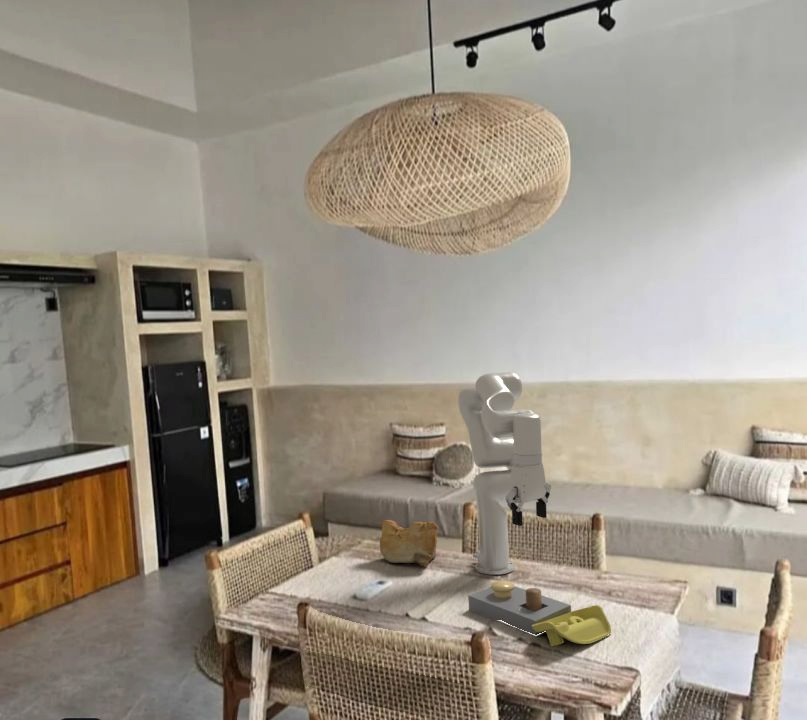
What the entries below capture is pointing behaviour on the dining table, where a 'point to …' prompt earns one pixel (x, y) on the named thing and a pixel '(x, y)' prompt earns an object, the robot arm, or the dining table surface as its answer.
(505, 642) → the dining table surface
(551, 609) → the grey block with hole
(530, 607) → the gear shaft
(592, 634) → the plastic component
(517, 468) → the robot arm
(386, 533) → the rough brown rock
